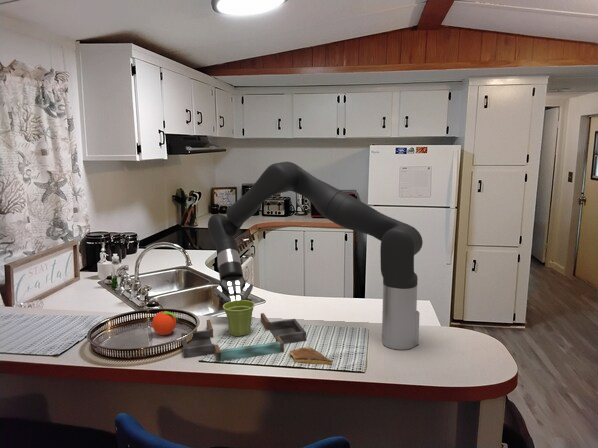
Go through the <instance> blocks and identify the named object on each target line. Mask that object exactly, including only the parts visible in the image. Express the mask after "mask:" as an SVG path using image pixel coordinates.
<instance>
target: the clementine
mask: <svg viewBox="0 0 598 448" xmlns="http://www.w3.org/2000/svg"><path fill="white" fill-rule="evenodd" d="M177 321H179V320H178V317H177V316H176V314H174V313H173V312H170V311H167V310H163V311H160V312H158V313H157V314H155V316H154V317H153V318H152V321H151V322H152V323H151V326H152V329H153V330H154V332H155V333H156V334H158V335H162V336H165V335H166V336H167V335H169V334H171V333H172V332H173V331H174V330H175V328H176V327H177Z"/></svg>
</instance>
